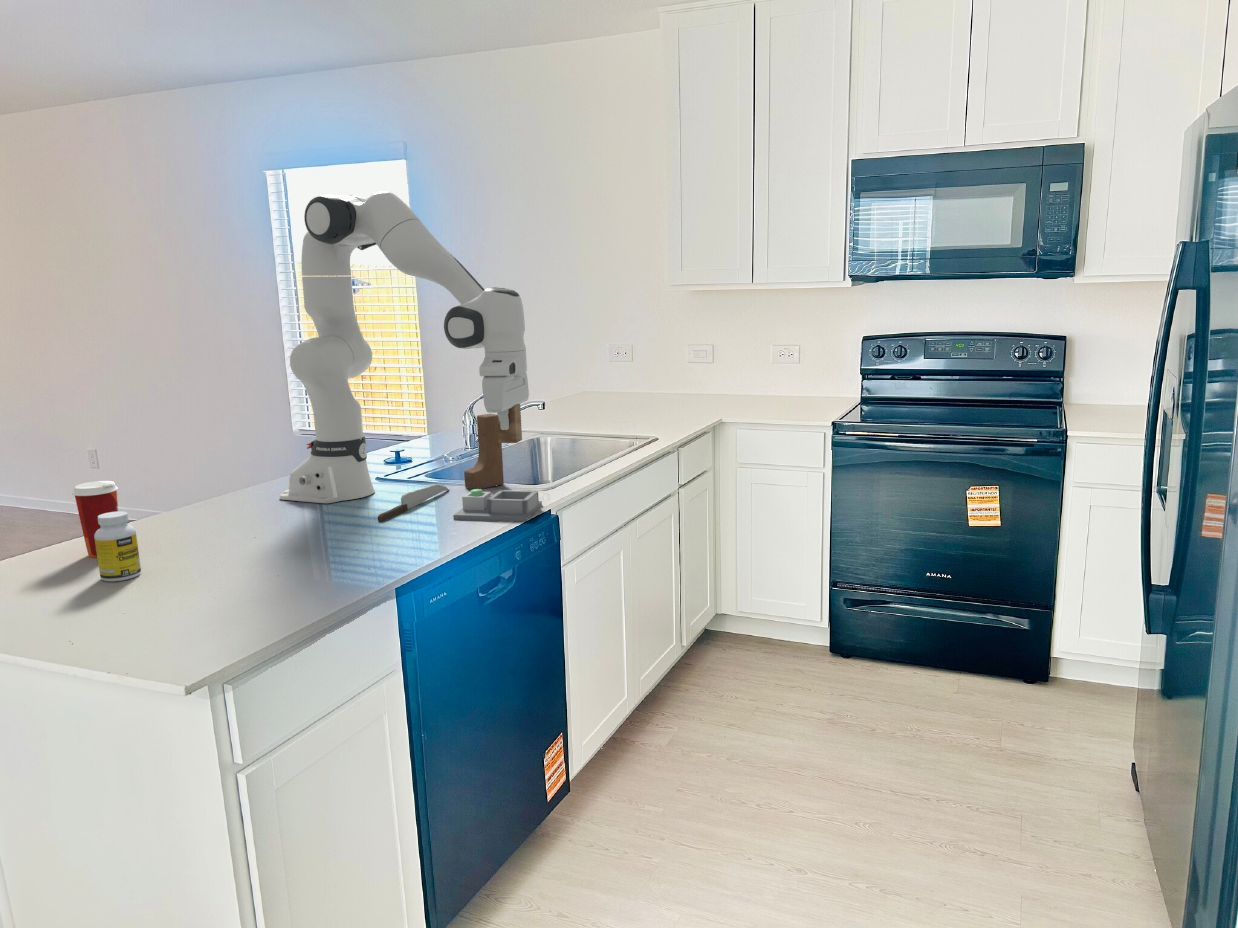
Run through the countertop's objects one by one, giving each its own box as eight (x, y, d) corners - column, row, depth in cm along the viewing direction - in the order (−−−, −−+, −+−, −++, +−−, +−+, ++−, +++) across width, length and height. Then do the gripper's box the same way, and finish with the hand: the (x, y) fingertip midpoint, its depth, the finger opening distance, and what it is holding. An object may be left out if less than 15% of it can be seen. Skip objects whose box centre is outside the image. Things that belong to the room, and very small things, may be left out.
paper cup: (136, 549, 174) (126, 481, 171) (102, 561, 167) (91, 489, 164) (106, 546, 177) (96, 479, 174) (72, 557, 169) (61, 487, 167)
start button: (469, 504, 196) (468, 491, 195) (473, 501, 198) (473, 489, 197) (480, 505, 195) (480, 491, 194) (484, 502, 198) (484, 489, 197)
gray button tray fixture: (453, 519, 191) (452, 501, 190) (476, 503, 204) (475, 486, 203) (523, 521, 188) (522, 503, 187) (541, 505, 201) (541, 488, 200)
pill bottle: (113, 585, 153) (103, 521, 151) (93, 579, 156) (83, 516, 154) (149, 574, 158) (140, 512, 156) (129, 568, 162) (120, 508, 160)
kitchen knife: (380, 507, 189) (449, 474, 217) (376, 506, 190) (445, 474, 217) (382, 525, 190) (451, 490, 218) (378, 525, 191) (447, 490, 218)
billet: (499, 442, 190) (496, 406, 189) (504, 439, 194) (502, 403, 193) (516, 443, 190) (514, 406, 188) (522, 439, 193) (520, 403, 192)
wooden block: (473, 490, 217) (469, 419, 213) (464, 487, 220) (460, 417, 217) (504, 484, 222) (500, 415, 219) (495, 482, 226) (491, 413, 222)
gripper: (507, 360, 199) (510, 420, 202) (475, 368, 179) (480, 435, 182) (533, 359, 198) (536, 420, 201) (505, 368, 178) (508, 435, 181)
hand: (509, 427), depth 191 cm, fingers closed on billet, 4 cm apart
